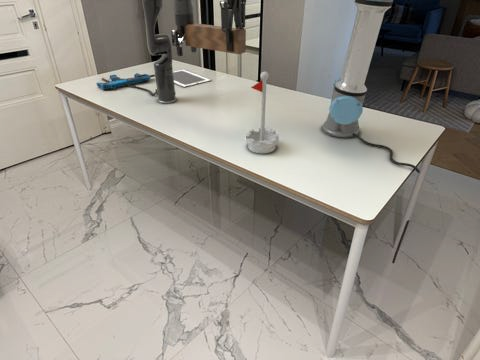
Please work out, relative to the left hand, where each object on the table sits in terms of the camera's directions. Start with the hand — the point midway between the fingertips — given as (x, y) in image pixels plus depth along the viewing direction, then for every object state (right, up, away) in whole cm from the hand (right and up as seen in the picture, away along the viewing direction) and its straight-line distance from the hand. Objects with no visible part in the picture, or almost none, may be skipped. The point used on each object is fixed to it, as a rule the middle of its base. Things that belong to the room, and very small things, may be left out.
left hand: (187, 53), depth 145 cm
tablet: (-13, +11, +71) cm, 73 cm away
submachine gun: (-48, +7, +65) cm, 81 cm away
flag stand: (+31, -41, -8) cm, 52 cm away
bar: (+12, -1, -9) cm, 16 cm away
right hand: (+20, -4, -14) cm, 25 cm away
